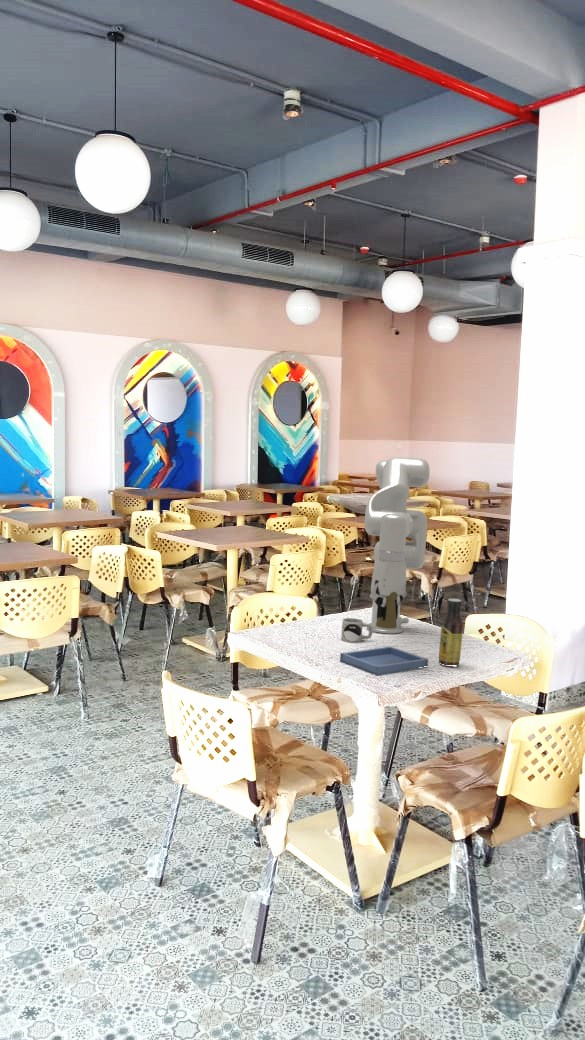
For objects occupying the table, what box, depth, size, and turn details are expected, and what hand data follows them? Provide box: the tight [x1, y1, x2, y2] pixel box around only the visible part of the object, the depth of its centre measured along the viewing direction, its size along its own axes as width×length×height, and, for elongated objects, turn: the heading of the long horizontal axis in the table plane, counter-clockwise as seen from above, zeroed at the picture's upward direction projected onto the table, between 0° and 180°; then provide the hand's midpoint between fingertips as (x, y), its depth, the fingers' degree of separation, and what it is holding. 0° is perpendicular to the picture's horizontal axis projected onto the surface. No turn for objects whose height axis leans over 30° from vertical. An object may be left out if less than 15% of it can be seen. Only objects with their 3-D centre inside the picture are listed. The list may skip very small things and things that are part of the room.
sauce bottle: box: [438, 598, 464, 666], centre depth 243 cm, size 6×6×20 cm
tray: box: [339, 646, 429, 676], centre depth 240 cm, size 20×16×2 cm
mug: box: [340, 617, 373, 644], centre depth 268 cm, size 10×7×7 cm
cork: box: [376, 592, 397, 628], centre depth 239 cm, size 6×6×11 cm
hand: (386, 618), depth 239 cm, fingers closed on cork, 3 cm apart
